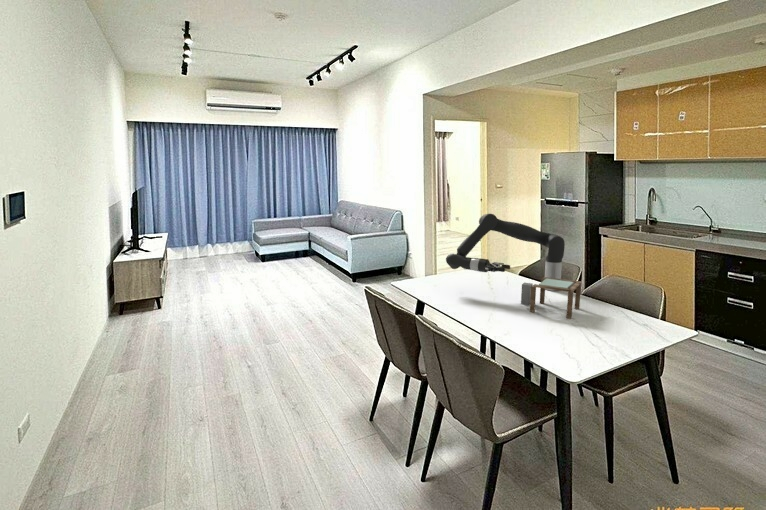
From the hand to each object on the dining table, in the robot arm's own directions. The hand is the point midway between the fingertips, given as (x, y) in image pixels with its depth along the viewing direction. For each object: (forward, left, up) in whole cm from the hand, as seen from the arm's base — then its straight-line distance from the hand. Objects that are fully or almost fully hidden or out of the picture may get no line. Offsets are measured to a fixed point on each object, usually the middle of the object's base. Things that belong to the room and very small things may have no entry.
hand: (507, 268), depth 254 cm
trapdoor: (+4, +28, -5) cm, 28 cm away
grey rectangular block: (0, +11, -18) cm, 21 cm away
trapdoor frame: (+4, +27, -18) cm, 33 cm away
